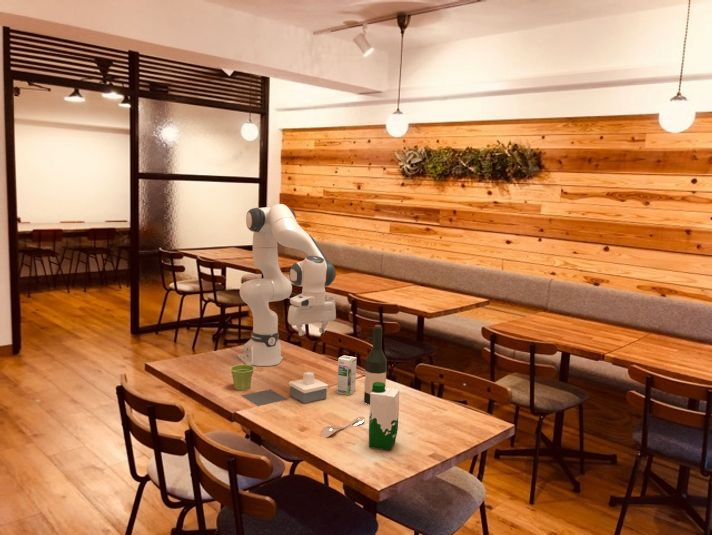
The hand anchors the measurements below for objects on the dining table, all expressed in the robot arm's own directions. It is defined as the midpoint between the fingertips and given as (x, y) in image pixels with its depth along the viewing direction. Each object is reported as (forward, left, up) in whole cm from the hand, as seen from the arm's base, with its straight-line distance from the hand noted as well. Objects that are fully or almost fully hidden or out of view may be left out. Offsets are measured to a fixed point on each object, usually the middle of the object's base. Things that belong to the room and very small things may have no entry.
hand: (311, 334), depth 232 cm
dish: (+2, -2, -25) cm, 25 cm away
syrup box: (+4, +15, -25) cm, 29 cm away
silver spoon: (+32, -8, -25) cm, 42 cm away
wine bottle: (+18, +18, -25) cm, 36 cm away
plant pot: (-21, -18, -25) cm, 37 cm away
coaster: (-7, -16, -25) cm, 31 cm away
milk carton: (+49, -5, -25) cm, 56 cm away
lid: (+2, -2, -20) cm, 20 cm away
